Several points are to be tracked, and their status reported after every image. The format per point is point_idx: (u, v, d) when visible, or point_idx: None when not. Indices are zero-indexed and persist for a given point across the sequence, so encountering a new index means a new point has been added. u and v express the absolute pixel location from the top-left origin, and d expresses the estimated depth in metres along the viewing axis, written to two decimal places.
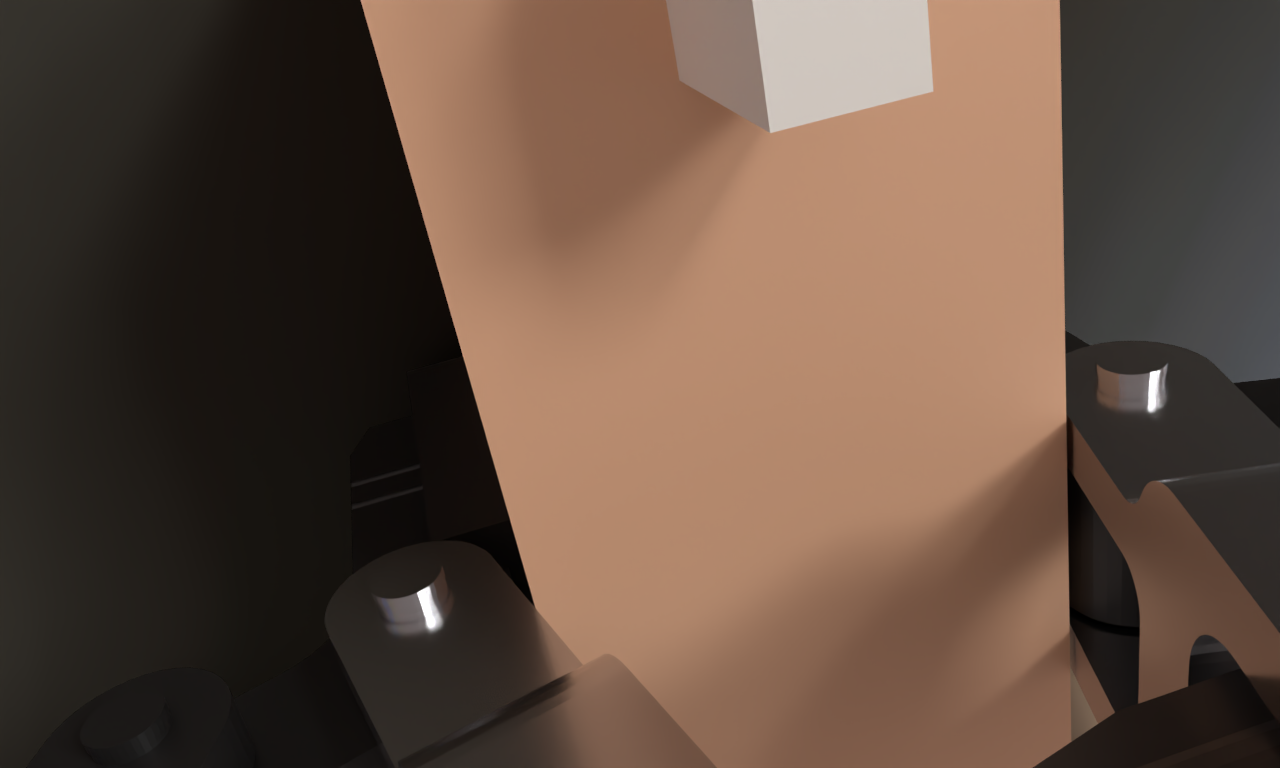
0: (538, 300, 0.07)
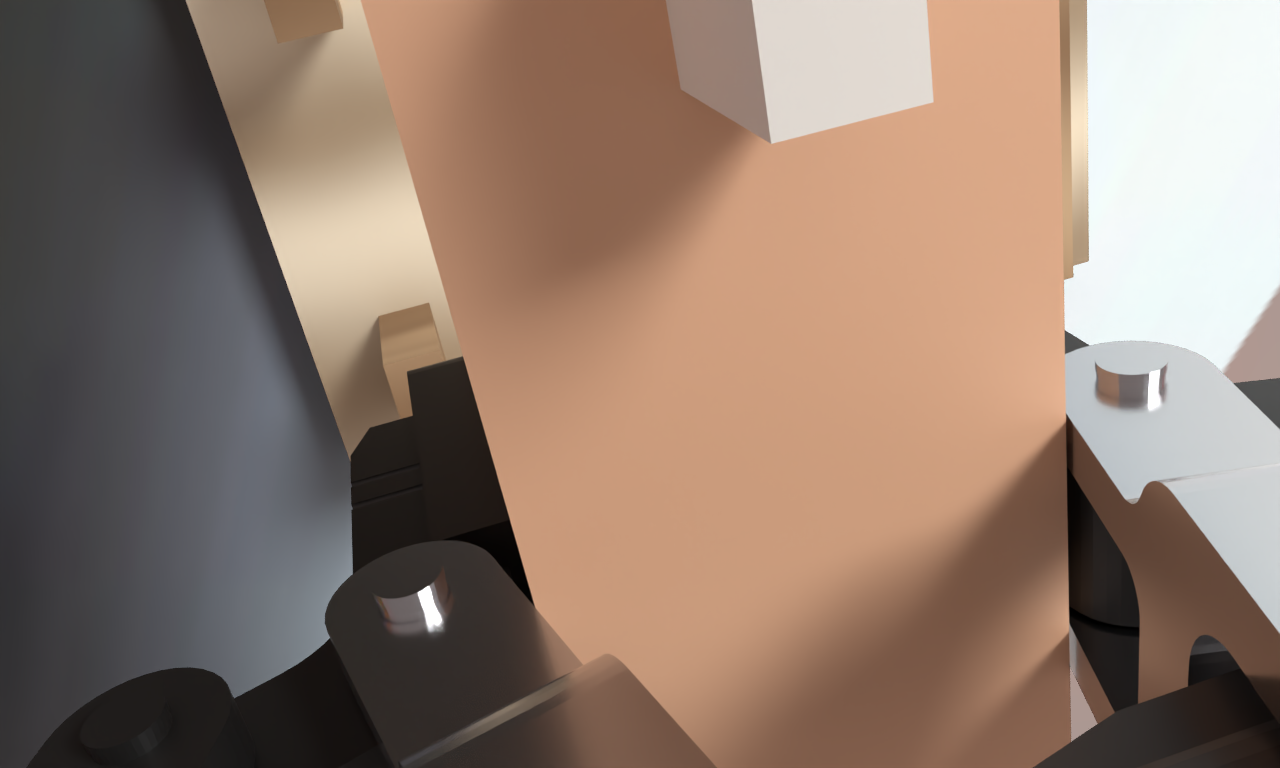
0: (540, 307, 0.07)
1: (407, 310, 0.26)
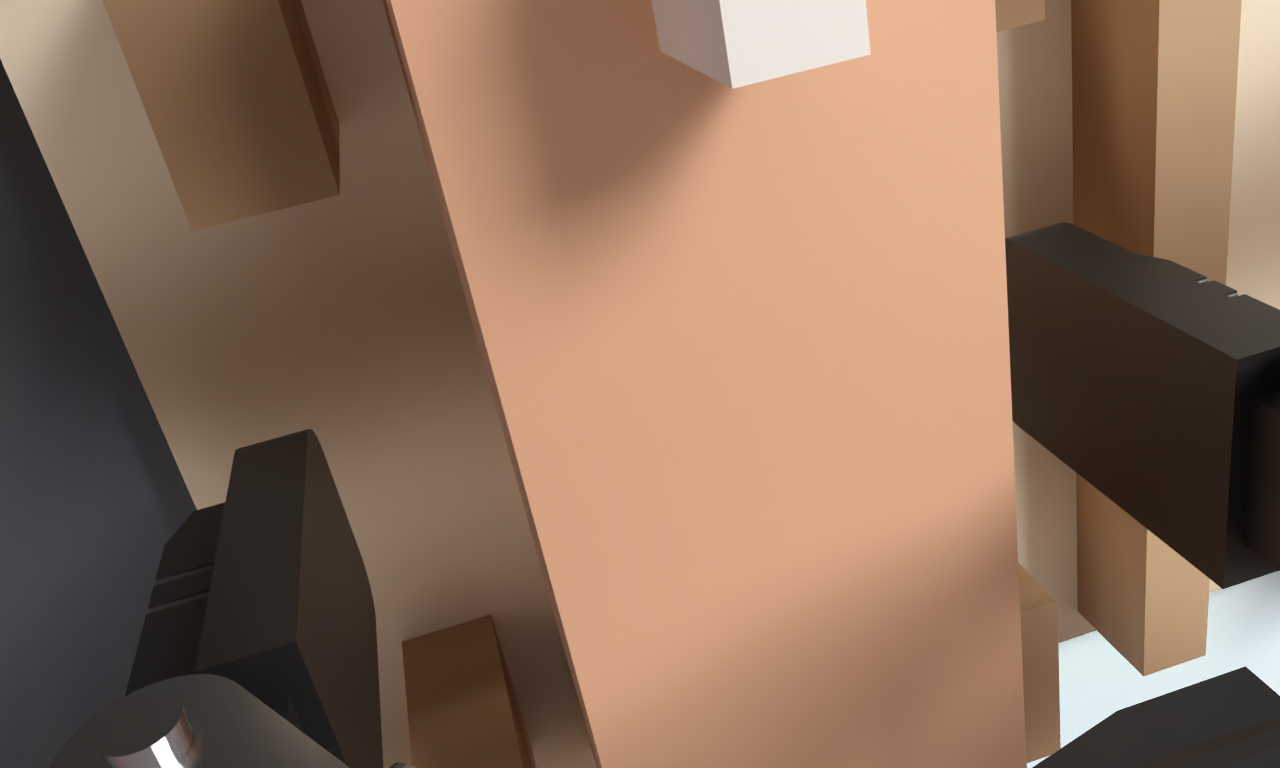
0: (537, 245, 0.08)
1: (452, 632, 0.15)
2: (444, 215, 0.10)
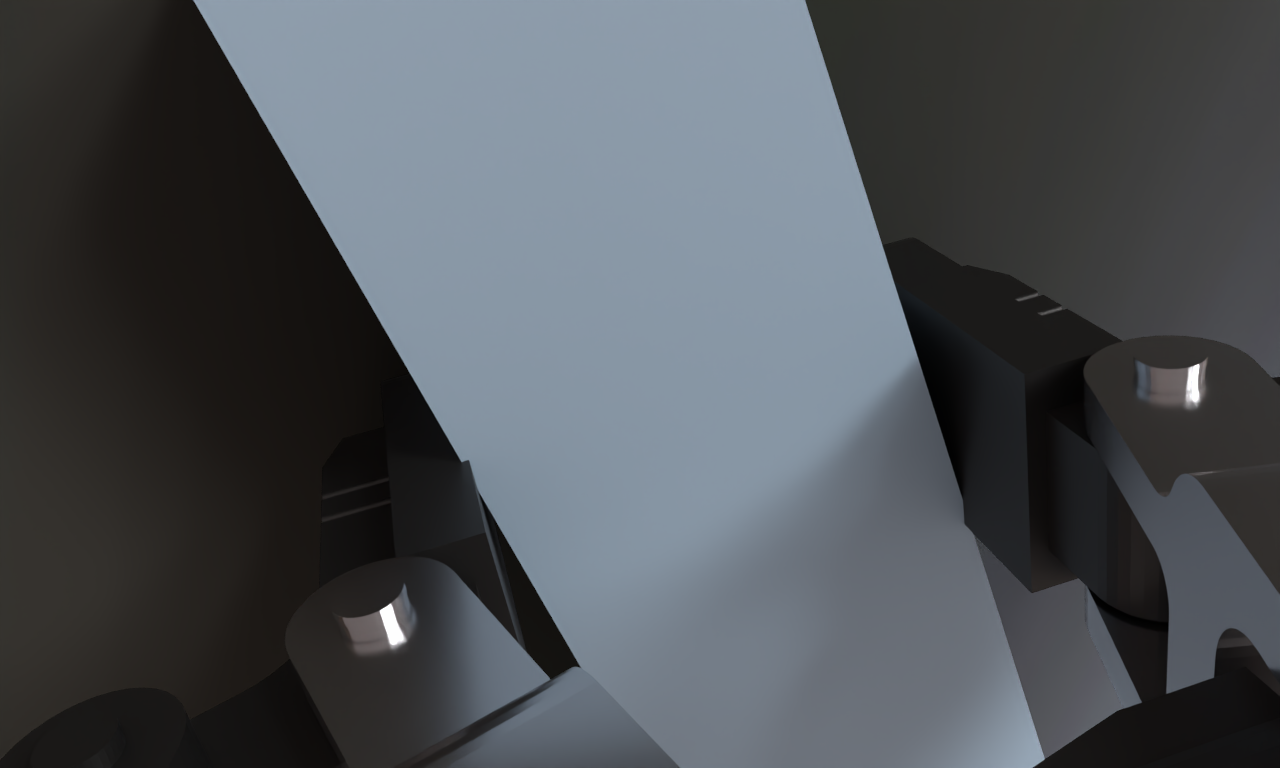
0: None
1: None
2: None
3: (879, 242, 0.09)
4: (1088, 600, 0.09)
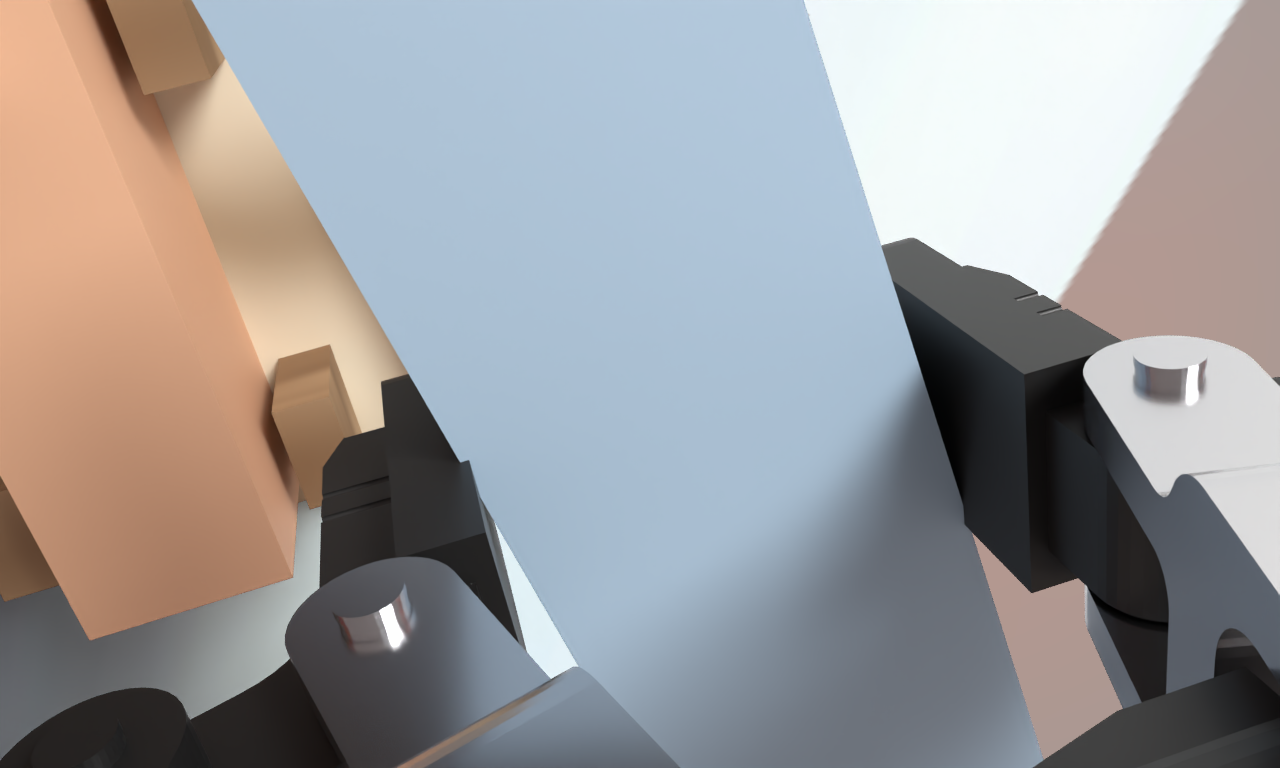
0: None
1: None
2: None
3: (880, 251, 0.10)
4: (1088, 600, 0.09)
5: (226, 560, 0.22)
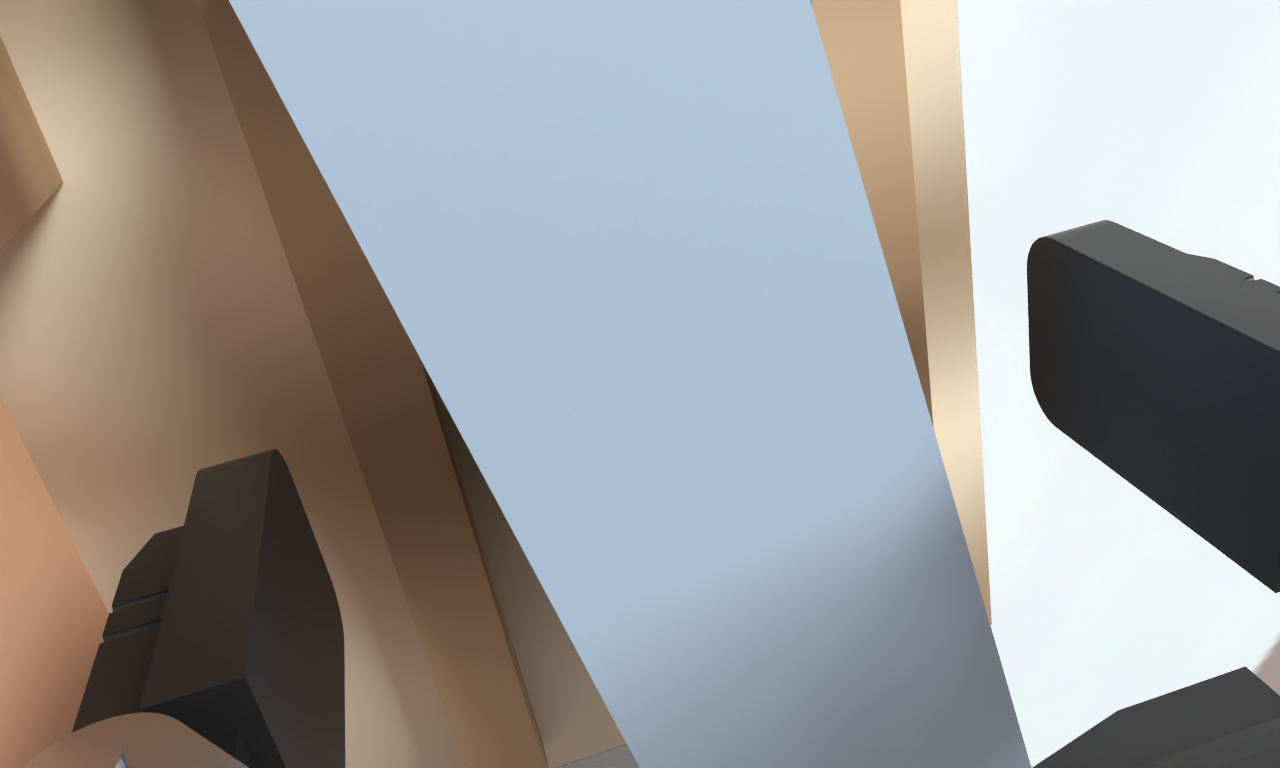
0: None
1: None
2: None
3: (880, 248, 0.10)
4: None
5: None
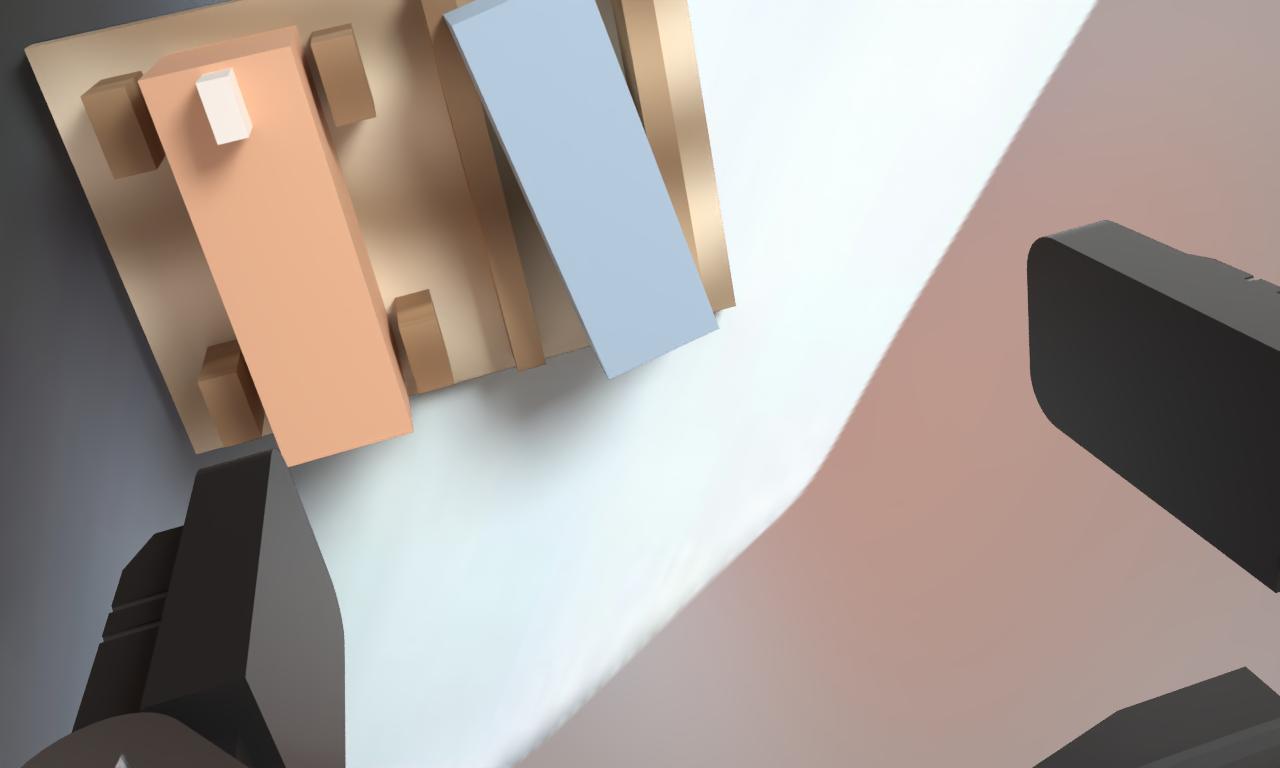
0: (197, 180, 0.30)
1: (227, 342, 0.37)
2: None
3: (637, 114, 0.33)
4: None
5: (373, 418, 0.34)
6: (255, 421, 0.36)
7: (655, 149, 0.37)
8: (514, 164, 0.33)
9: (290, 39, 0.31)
